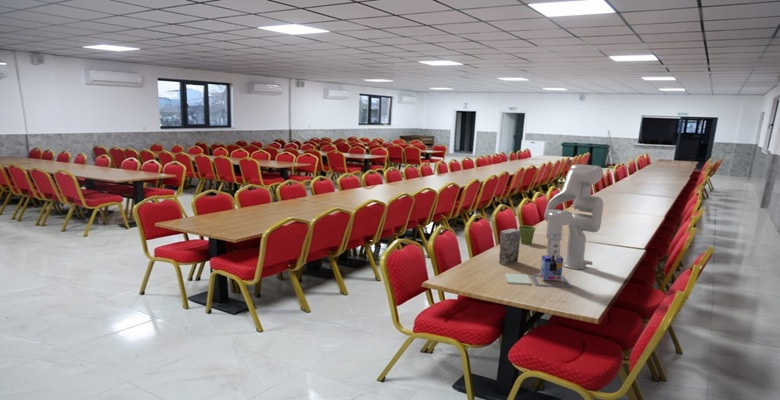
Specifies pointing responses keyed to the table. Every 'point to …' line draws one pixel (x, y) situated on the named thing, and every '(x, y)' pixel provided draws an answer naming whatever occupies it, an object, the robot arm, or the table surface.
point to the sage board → (518, 279)
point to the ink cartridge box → (545, 268)
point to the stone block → (509, 246)
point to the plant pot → (526, 234)
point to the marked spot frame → (550, 285)
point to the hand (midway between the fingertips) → (551, 268)
